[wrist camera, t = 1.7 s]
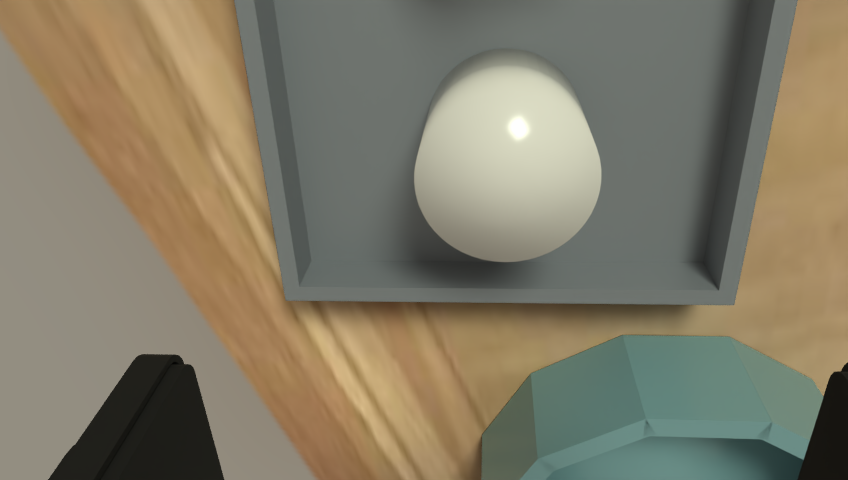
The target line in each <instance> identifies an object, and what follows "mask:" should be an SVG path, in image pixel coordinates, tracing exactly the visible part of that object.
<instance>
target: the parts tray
mask: <svg viewBox="0 0 848 480" xmlns="http://www.w3.org/2000/svg"><path fill="white" fill-rule="evenodd" d="M797 1H798V0H234V2H235V7H236V13H237V19H238V25H239V31H240V37H241V42H242V48H243V54H244V60H245V66H246V72H247V77H248V83H249V89H250V95H251V101H252V107H253V112H254V118H255V124H256V130H257V136H258V142H259V147H260V153H261V159H262V165H263V171H264V177H265V183H266V188H267V194H268V200H269V206H270V212H271V218H272V223H273V229H274V235H275V241H276V247H277V253H278V258H279V264H280V270H281V276H282V282H283V288H284V293H285V299H286V301H378V302H474V303H571V304H667V305H734V303H735V298H736V294H737V289H738V284H739V279H740V274H741V270H742V265H743V260H744V255H745V250H746V246H747V241H748V236H749V231H750V226H751V222H752V217H753V212H754V207H755V202H756V198H757V193H758V188H759V183H760V178H761V174H762V169H763V164H764V159H765V154H766V150H767V145H768V140H769V135H770V130H771V126H772V121H773V116H774V111H775V106H776V102H777V97H778V92H779V87H780V82H781V78H782V73H783V68H784V63H785V58H786V54H787V49H788V44H789V39H790V34H791V30H792V25H793V20H794V15H795V10H796V6H797ZM502 48H509V49H519V50H525V51H528V52H532V53H535V54H537V55H539V56H541V57H543V58H545V59H547V60H548V61H550V62H551V63H553V64H554V65H555V66H556V67H558V68H559V69H560V70H561V71H562V72H563V73H564V75H565V76H566V77H567V78H568V80H569V81H570V83H571V84H572V86H573V88H574V90H575V92H576V94H577V97H578V100H579V102H580V105H581V107H582V110H583V113H584V115H585V118H586V121H587V123H588V126H589V129H590V131H591V134H592V136H593V139H594V142H595V144H596V147H597V150H598V154H599V157H600V163H601V186H600V193H599V196H598V199H597V202H596V205H595V207H594V209H593V211H592V213H591V215H590V217H589V218H588V220H587V221H586V223H585V224H584V225H583V227H582V228H581V229H580V230H579V231H578V232H577V233H576V234H575V235H574V236H573V237H572V238H571V239H570V240H569V241H567V242H566V243H564V244H563V245H562V246H560V247H558V248H557V249H555V250H553V251H551V252H549V253H547V254H544V255H542V256H539V257H536V258H532V259H529V260H523V261H517V262H494V261H488V260H483V259H479V258H476V257H473V256H470V255H468V254H465V253H463V252H461V251H459V250H457V249H456V248H454V247H452V246H451V245H449V244H448V243H447V242H445V241H444V240H443V239H442V238H441V237H440V236H439V235H438V234H437V233H436V232H435V231H434V230H433V229H432V227H431V226H430V225H429V224H428V222H427V220H426V219H425V217H424V215H423V214H422V211H421V209H420V207H419V204H418V201H417V197H416V193H415V186H414V170H415V164H416V159H417V155H418V151H419V147H420V143H421V139H422V135H423V131H424V127H425V124H426V120H427V116H428V112H429V108H430V105H431V101H432V98H433V96H434V94H435V92H436V89H437V88H438V86H439V85H440V83H441V81H442V80H443V79H444V78H445V76H446V75H447V74H448V73H449V72H450V71H451V70H452V69H453V68H454V67H455V66H457V65H458V64H460V63H461V62H462V61H464V60H466V59H467V58H469V57H471V56H473V55H476V54H478V53H481V52H484V51H489V50H493V49H502Z"/></svg>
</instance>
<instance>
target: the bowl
mask: <svg viewBox="0 0 848 480" xmlns="http://www.w3.org/2000/svg"><path fill="white" fill-rule="evenodd" d="M822 400H823V396H822V394H821V393H820V391H819V389H818V388H817V386H816V385H815V383H814V381H813V380H812V379H811V378H809V377H807V376H805V375H803V374H801V373H799V372H797V371H795V370H793V369H791V368H789V367H787V366H785V365H783V364H781V363H779V362H777V361H775V360H774V359H772V358H770V357H768V356H766V355H764V354H762V353H760V352H758V351H756V350H754V349H752V348H750V347H748V346H746V345H744V344H742V343H740V342H738V341H736V340H735V339H733V338H731V337H717V336H649V335H621V336H619V337H617V338H614V339H612V340H609V341H607V342H605V343H602V344H600V345H598V346H595V347H593V348H590V349H588V350H586V351H583V352H581V353H579V354H576V355H574V356H571V357H569V358H567V359H564V360H562V361H559V362H557V363H555V364H552V365H550V366H548V367H545V368H543V369H540V370H538V371H536V372H533V373H531V374H530V375H529V377H528V378H527V379H526V380H525V382H524V383H523V384H522V385H521V387H520V388H519V389H518V390H517V392H516V393H515V394H514V395H513V397H512V398H511V399H510V400H509V402H508V403H507V404H506V406H505V407H504V408H503V409H502V411H501V412H500V413H499V414H498V416H497V417H496V418H495V419H494V421H493V422H492V423H491V424H490V426H489V427H488V428H487V429H486V431H485V432H484V433H483V434H482V478H481V480H797V479H798V476H799V473H800V470H801V466H802V463H803V460H804V457H805V454H806V451H807V448H808V444H809V441H810V438H811V435H812V432H813V429H814V425H815V422H816V419H817V416H818V413H819V410H820V407H821V403H822Z"/></svg>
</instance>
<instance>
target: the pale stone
mask: <svg viewBox="0 0 848 480" xmlns="http://www.w3.org/2000/svg"><path fill="white" fill-rule="evenodd" d="M414 186H415V193H416V197H417V201H418V204H419V207H420V209H421V211H422V214H423V215H424V217H425V219H426V220H427V222H428V224H429V225H430V226H431V227H432V229H433V230H434V231H435V232H436V233H437V234H438V235H439V236H440V237H441V238H442V239H443V240H444V241H445V242H447V243H448V244H449V245H451V246H452V247H454V248H456V249H457V250H459V251H461V252H463V253H465V254H468V255H470V256H473V257H476V258H479V259H483V260H488V261H494V262H517V261H523V260H529V259H532V258H536V257H539V256H542V255H544V254H547V253H549V252H551V251H553V250H555V249H557V248H558V247H560V246H562V245H563V244H564V243H566V242H567V241H569V240H570V239H571V238H572V237H573V236H574V235H575V234H576V233H577V232H578V231H579V230H580V229H581V228H582V227H583V225H584V224H585V223H586V221H587V220H588V218H589V217H590V215H591V213H592V211H593V209H594V207H595V205H596V202H597V199H598V196H599V193H600V186H601V163H600V157H599V154H598V150H597V147H596V144H595V142H594V139H593V136H592V134H591V131H590V129H589V126H588V123H587V121H586V118H585V115H584V113H583V110H582V107H581V105H580V102H579V100H578V97H577V94H576V92H575V90H574V88H573V86H572V84H571V83H570V81H569V80H568V78H567V77H566V76H565V75H564V73H563V72H562V71H561V70H560V69H559V68H558V67H556V66H555V65H554V64H553V63H551V62H550V61H548V60H547V59H545V58H543V57H541V56H539V55H537V54H535V53H532V52H528V51H525V50H519V49H509V48H502V49H493V50H489V51H484V52H481V53H478V54H476V55H473V56H471V57H469V58H467V59H466V60H464V61H462V62H461V63H460V64H458V65H457V66H455V67H454V68H453V69H452V70H451V71H450V72H449V73H448V74H447V75H446V76H445V78H444V79H443V80H442V81H441V83H440V85H439V86H438V88H437V89H436V92H435V94H434V96H433V98H432V101H431V105H430V108H429V112H428V116H427V120H426V124H425V127H424V131H423V135H422V139H421V143H420V147H419V151H418V155H417V159H416V164H415V170H414Z"/></svg>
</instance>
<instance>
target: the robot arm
mask: <svg viewBox="0 0 848 480" xmlns="http://www.w3.org/2000/svg"><path fill="white" fill-rule="evenodd" d="M48 480H224V477H223V473H222V470H221V466H220V462H219V459H218V455H217V451H216V448H215V444H214V440H213V437H212V434H211V430H210V426H209V422H208V418H207V415H206V411H205V407H204V404H203V400H202V396H201V393H200V389H199V386H198V382H197V378H196V374H195V371H194V368H193V367H192V366H191V365H188V364H184V362H183V360H182V358H181V357H180V356H178V355H154V354H142V355H139V356H137V357H136V358H135V360H134V361H133V362H132V363H131V365H130V366H129V368H128V369H127V371H126V372H125V374H124V375H123V376H122V378H121V380H120V381H119V382H118V384H117V385H116V387H115V388H114V390H113V391H112V392H111V394H110V395H109V397H108V398H107V400H106V401H105V402H104V404H103V405H102V407H101V409H100V410H99V411H98V413H97V414H96V415H95V417H94V418H93V420H92V421H91V423H90V424H89V426H88V427H87V429H86V430H85V432H84V433H83V434H82V436H81V437H80V439H79V440H78V442H77V443H76V444H75V445H74V446H73V447H72V448H71V449H70V450H69V451H68V453H67V454H66V455H65V456H64V458H63V459H62V461H61V462H60V464H59V465H58V467H57V468H56V469H55V471H54V472H53V474H52V475H51V476H50V478H49V479H48ZM797 480H848V363H846V364H845V365H844V367H843V369H842V371H841V372H834V373H833V374H832V375H831V377H830V379H829V381H828V385H827V388H826V391H825V394H824V397H823V400H822V403H821V407H820V410H819V413H818V416H817V419H816V422H815V425H814V429H813V432H812V435H811V438H810V441H809V444H808V448H807V451H806V454H805V457H804V460H803V463H802V466H801V470H800V473H799V476H798V479H797Z"/></svg>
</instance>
